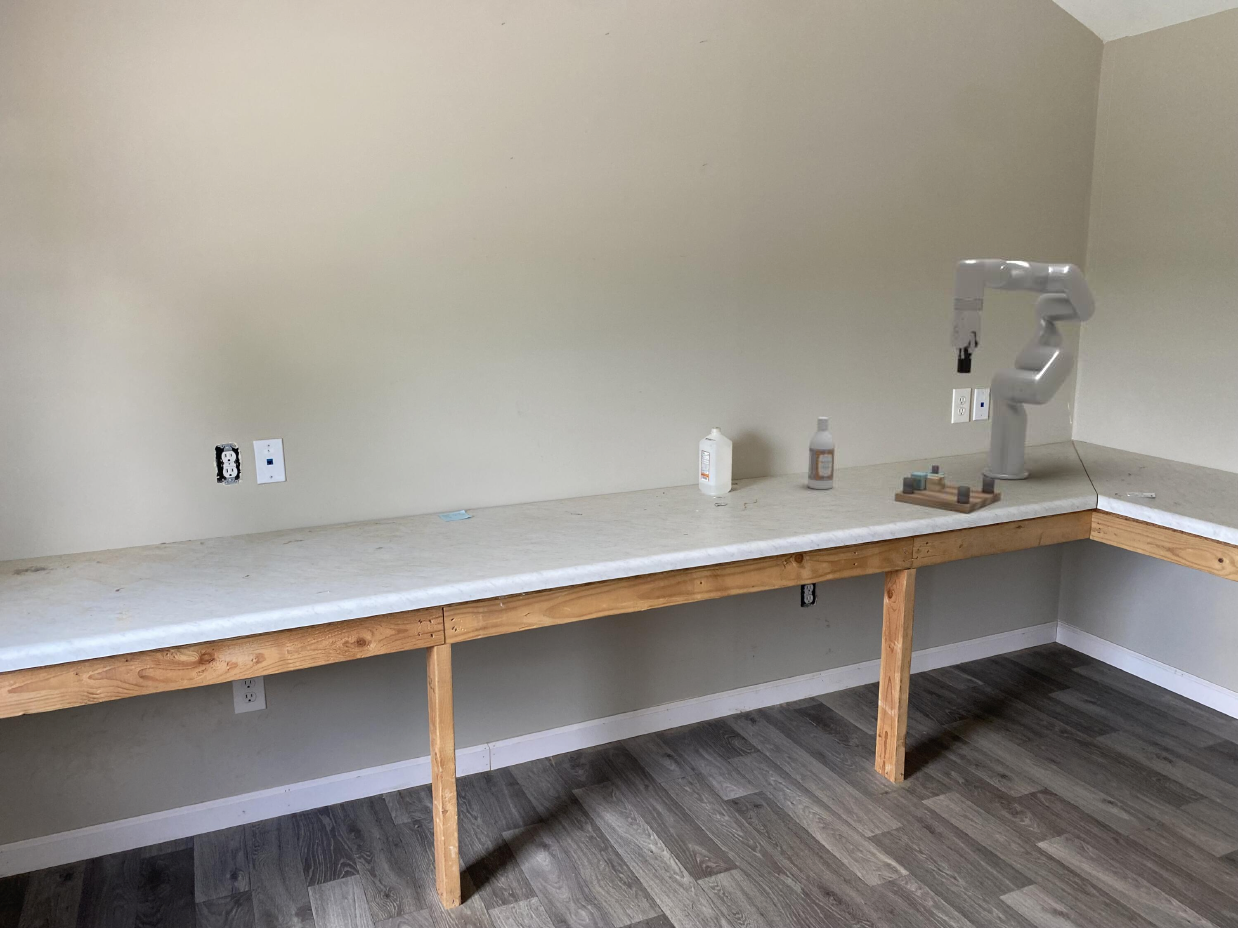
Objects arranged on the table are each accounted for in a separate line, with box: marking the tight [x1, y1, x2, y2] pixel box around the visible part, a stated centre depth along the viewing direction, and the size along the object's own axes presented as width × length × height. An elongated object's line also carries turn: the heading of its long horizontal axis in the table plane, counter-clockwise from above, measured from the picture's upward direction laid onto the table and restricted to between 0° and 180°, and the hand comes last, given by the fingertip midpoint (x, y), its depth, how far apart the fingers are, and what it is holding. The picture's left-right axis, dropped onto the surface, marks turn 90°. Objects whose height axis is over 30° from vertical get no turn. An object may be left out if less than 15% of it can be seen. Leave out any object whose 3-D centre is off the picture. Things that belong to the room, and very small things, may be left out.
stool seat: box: [894, 464, 1002, 514], centre depth 243 cm, size 20×20×7 cm
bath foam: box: [807, 416, 835, 490], centre depth 258 cm, size 7×7×20 cm
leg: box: [910, 470, 946, 490], centre depth 250 cm, size 12×4×4 cm, turn 134°
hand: (963, 372), depth 254 cm, fingers closed
